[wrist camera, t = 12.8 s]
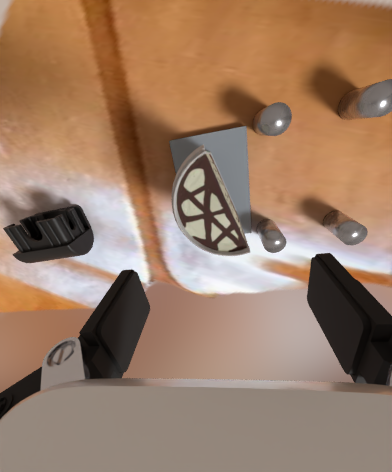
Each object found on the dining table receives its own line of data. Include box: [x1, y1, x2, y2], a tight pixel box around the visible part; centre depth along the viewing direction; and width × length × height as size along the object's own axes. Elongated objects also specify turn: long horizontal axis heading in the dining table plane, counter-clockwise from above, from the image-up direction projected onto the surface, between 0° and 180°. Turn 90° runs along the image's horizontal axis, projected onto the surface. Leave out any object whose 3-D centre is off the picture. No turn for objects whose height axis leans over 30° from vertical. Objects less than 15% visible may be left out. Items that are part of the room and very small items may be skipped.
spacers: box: [253, 79, 392, 253], centre depth 25 cm, size 13×18×5 cm
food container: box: [172, 144, 250, 256], centre depth 24 cm, size 12×6×10 cm, turn 27°
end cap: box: [3, 206, 94, 263], centre depth 32 cm, size 10×7×7 cm
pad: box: [169, 126, 251, 233], centre depth 29 cm, size 10×15×1 cm, turn 10°
